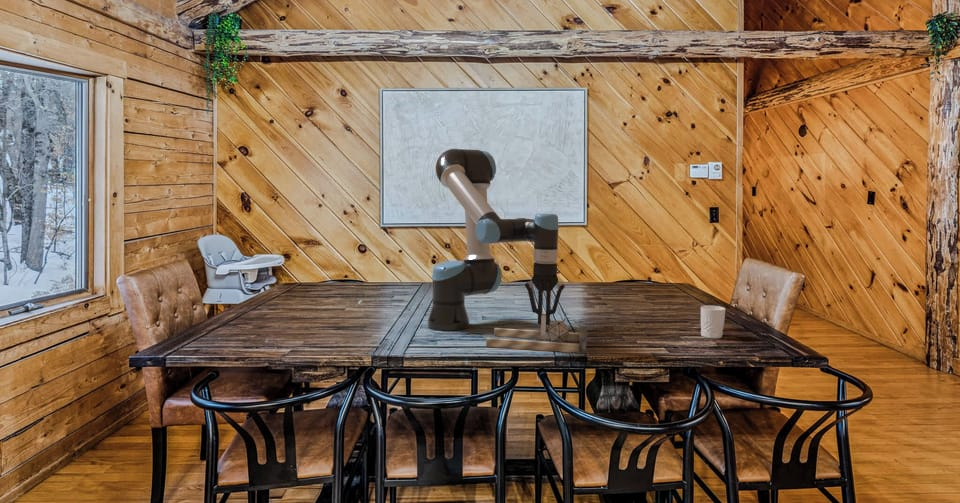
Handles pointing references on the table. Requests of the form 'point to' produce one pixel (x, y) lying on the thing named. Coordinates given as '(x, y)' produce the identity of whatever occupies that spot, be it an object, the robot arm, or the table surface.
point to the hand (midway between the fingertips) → (543, 334)
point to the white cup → (712, 321)
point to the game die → (557, 331)
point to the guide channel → (537, 344)
